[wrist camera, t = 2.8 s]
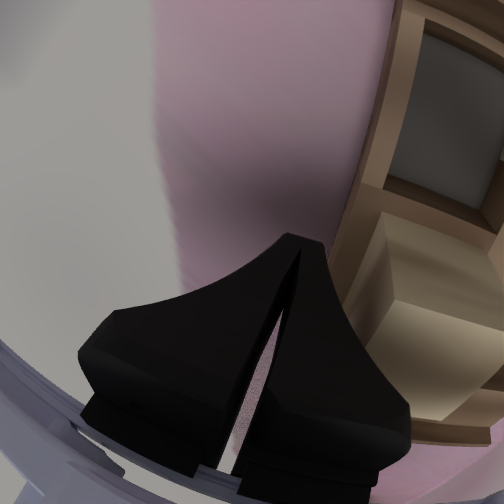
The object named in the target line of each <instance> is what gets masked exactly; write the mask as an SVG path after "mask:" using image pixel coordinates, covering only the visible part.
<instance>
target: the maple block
mask: <svg viewBox="0 0 504 504" xmlns="http://www.w3.org/2000/svg"><path fill="white" fill-rule="evenodd" d="M342 307H343V309H344V312H345V314H346V316H347V318H348V320H349V322H350V324H351V326H352V328H353V330H354V331H355V333H356V335H357V337H358V338H359V340H360V341H361V343H362V345H363V346H364V348H365V349H366V351H367V352H368V354H369V355H370V357H371V358H372V360H373V361H374V363H375V364H376V365H377V367H378V368H379V369H380V370H381V372H382V373H383V374H384V376H385V377H386V378H387V380H388V381H389V382H390V383H391V384H392V385H393V386H394V388H395V389H396V390H397V391H398V392H399V393H400V394H401V395H402V397H403V398H404V399H405V400H406V401H407V402H408V403H409V405H410V413H411V417H416V418H423V419H430V420H438V421H442V420H443V419H444V418H446V417H447V416H448V415H449V414H451V413H452V412H453V411H454V410H455V409H457V408H458V407H459V406H460V405H461V404H463V403H464V402H465V401H466V400H467V399H468V398H469V397H471V396H472V395H473V394H474V393H475V392H476V391H477V390H478V389H479V388H480V387H481V386H483V385H484V384H485V383H486V382H487V381H488V380H489V379H490V378H491V377H492V376H493V375H494V374H495V373H496V372H497V371H498V370H499V369H500V368H501V367H502V366H503V364H504V286H503V284H502V282H501V280H500V278H499V276H498V274H497V272H496V270H495V268H494V267H493V265H492V263H491V261H490V259H489V258H488V256H487V254H486V252H485V251H484V250H483V249H480V248H478V247H476V246H473V245H471V244H468V243H466V242H463V241H461V240H458V239H456V238H453V237H451V236H448V235H446V234H443V233H441V232H438V231H435V230H433V229H430V228H427V227H425V226H422V225H419V224H416V223H414V222H411V221H408V220H405V219H402V218H400V217H397V216H394V215H391V214H388V213H385V212H381V215H380V218H379V220H378V223H377V226H376V228H375V231H374V233H373V236H372V238H371V241H370V243H369V246H368V248H367V251H366V253H365V255H364V258H363V260H362V262H361V265H360V267H359V269H358V272H357V274H356V276H355V279H354V281H353V283H352V285H351V287H350V290H349V292H348V294H347V296H346V298H345V301H344V303H343V305H342Z"/></svg>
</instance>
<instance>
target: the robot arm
mask: <svg viewBox="0 0 504 504" xmlns="http://www.w3.org/2000/svg"><path fill="white" fill-rule="evenodd" d="M282 310H283V313H282V318H281V322H280V327H279V331H278V336H277V340H276V345H275V349H274V354H273V358H272V362H271V366H270V369H269V372H268V375H267V378H266V381H265V384H264V387H263V390H262V392H261V395H260V398H259V401H258V404H257V406H256V409H255V412H254V415H253V417H252V420H251V423H250V425H249V428H248V431H247V433H246V436H245V438H244V441H243V444H242V446H241V449H240V451H239V454H238V456H237V459H236V461H235V464H234V467H233V469H232V471H231V474H230V475H229V474H226V473H224V472H221V471H218V470H216V469H217V467H218V464H219V462H220V460H221V457H222V455H223V452H224V450H225V447H226V444H227V442H228V439H229V437H230V434H231V432H232V429H233V427H234V424H235V422H236V419H237V416H238V414H239V411H240V409H241V406H242V403H243V401H244V398H245V395H246V393H247V390H248V387H249V385H250V382H251V380H252V377H253V374H254V371H255V369H256V366H257V364H258V362H259V359H260V357H261V355H262V353H263V351H264V349H265V346H266V344H267V342H268V340H269V338H270V336H271V334H272V332H273V330H274V327H275V325H276V323H277V321H278V319H279V317H280V314H281V312H282ZM78 361H79V364H80V366H81V369H82V371H83V372H84V375H85V376H86V378H87V380H88V382H89V383H90V385H91V387H92V389H93V390H94V392H95V393H94V394H93V396H92V397H91V399H90V400H89V402H88V403H87V405H86V406H85V405H84V404H82V403H81V402H79V401H77V400H76V399H75V398H73V397H72V396H70V395H68V394H67V393H66V392H64V391H63V390H62V389H60V388H59V387H57V386H56V385H55V384H53V383H52V382H51V381H49V380H48V379H47V378H45V377H44V376H43V375H42V374H40V373H39V372H38V371H36V370H35V369H34V368H33V367H31V366H30V365H29V364H28V363H26V362H25V361H24V360H23V359H22V358H21V357H20V356H18V355H17V354H16V353H15V352H14V351H13V350H12V349H10V348H9V347H8V346H7V345H6V344H5V343H4V342H3V341H2V340H1V339H0V451H1V453H2V454H3V455H4V457H5V458H6V459H7V460H8V461H9V462H10V463H11V465H12V466H13V467H14V468H15V469H16V470H17V471H18V472H19V473H20V474H21V475H22V476H23V477H24V478H25V479H26V480H27V483H26V484H25V486H24V487H23V489H22V491H21V493H20V494H19V496H18V498H17V499H16V501H15V502H14V504H176V503H174V502H171V501H169V500H167V499H165V498H162V497H160V496H158V495H156V494H153V493H151V492H149V491H147V490H145V489H143V488H141V487H139V486H137V485H135V484H133V483H131V482H129V481H127V480H125V479H123V476H124V474H125V470H124V469H123V468H122V467H120V466H119V465H117V464H116V463H115V462H113V460H111V459H110V458H109V457H108V456H107V455H106V453H105V451H104V450H102V449H100V448H99V447H98V446H96V445H95V444H93V443H92V442H91V441H89V440H88V439H87V438H85V437H84V436H83V435H81V434H80V433H79V432H78V430H79V431H81V432H82V433H84V434H85V435H87V436H88V437H90V438H91V439H93V440H94V441H96V442H98V443H99V444H101V445H102V446H104V447H106V448H107V449H109V450H111V451H113V452H114V453H116V454H118V455H120V456H121V457H123V458H125V459H127V460H129V461H130V462H132V463H134V464H136V465H138V466H140V467H142V468H144V469H146V470H148V471H150V472H152V473H154V474H156V475H159V476H161V477H163V478H165V479H167V480H169V481H172V482H174V483H177V484H179V485H181V486H184V487H186V488H189V489H191V490H194V491H196V492H199V493H202V494H204V495H207V496H210V497H213V498H216V499H219V500H221V501H225V502H228V503H231V504H379V503H369V498H370V493H371V487H374V486H376V484H377V482H378V475H379V471H381V470H383V469H385V468H386V467H388V466H390V465H392V464H394V463H395V462H397V461H399V460H400V459H401V458H402V457H404V456H405V455H406V454H407V453H408V452H409V450H410V448H411V436H412V422H411V413H410V405H409V403H408V402H407V401H406V400H405V399H404V398H403V397H402V395H401V394H400V393H399V392H398V391H397V390H396V389H395V388H394V386H393V385H392V384H391V383H390V382H389V381H388V380H387V378H386V377H385V376H384V374H383V373H382V372H381V370H380V369H379V368H378V367H377V365H376V364H375V363H374V361H373V360H372V358H371V357H370V355H369V354H368V352H367V351H366V349H365V348H364V346H363V345H362V343H361V341H360V340H359V338H358V337H357V335H356V333H355V331H354V330H353V328H352V326H351V324H350V322H349V320H348V318H347V316H346V314H345V312H344V309H343V307H342V305H341V302H340V300H339V297H338V295H337V292H336V290H335V287H334V284H333V281H332V278H331V275H330V271H329V268H328V264H327V260H326V255H325V249H324V245H323V244H322V243H321V242H317V241H314V240H311V239H307V238H304V237H301V236H297V235H294V234H290V233H285V234H283V235H282V236H281V237H280V238H279V239H278V240H277V241H276V242H275V243H274V244H273V245H272V246H270V247H269V248H268V249H267V250H265V251H264V252H263V253H262V254H260V255H259V256H258V257H256V258H255V259H253V260H252V261H251V262H249V263H247V264H246V265H244V266H243V267H241V268H240V269H238V270H237V271H235V272H233V273H231V274H230V275H228V276H226V277H224V278H222V279H220V280H218V281H216V282H214V283H212V284H210V285H207V286H205V287H203V288H200V289H198V290H195V291H193V292H190V293H187V294H184V295H181V296H178V297H175V298H171V299H168V300H164V301H160V302H157V303H152V304H148V305H142V306H137V307H132V308H126V309H120V310H114V311H113V312H112V313H111V314H110V315H109V316H108V317H107V318H106V319H105V320H104V321H103V322H102V323H101V324H100V325H99V326H98V328H97V329H96V330H95V331H94V332H93V333H92V335H91V336H90V337H89V338H88V340H87V341H86V342H85V343H84V344H83V346H82V347H81V348H80V349H79V351H78ZM77 429H78V430H77ZM438 504H504V490H501V491H498V492H496V493H494V494H492V495H489V496H487V497H486V498H484V499H478V500H471V501H463V502H452V503H438Z"/></svg>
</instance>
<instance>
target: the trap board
mask: <svg viewBox="0 0 504 504" xmlns="http://www.w3.org/2000/svg"><path fill="white" fill-rule="evenodd" d="M381 212H385V213H388V214H391V215H394V216H397V217H400V218H402V219H405V220H408V221H411V222H414V223H416V224H419V225H422V226H425V227H427V228H430V229H433V230H435V231H438V232H441V233H443V234H446V235H448V236H451V237H453V238H456V239H458V240H461V241H463V242H466V243H468V244H471V245H473V246H476V247H478V248H480V249H483V250H484V251H485V252H486V254H487V256H488V258H489V259H490V261H491V263H492V265H493V267H494V268H495V270H496V272H497V274H498V276H499V278H500V280H501V282H502V284H503V286H504V0H395V4H394V10H393V16H392V22H391V28H390V34H389V39H388V44H387V49H386V54H385V59H384V64H383V69H382V73H381V78H380V82H379V87H378V91H377V95H376V99H375V103H374V108H373V112H372V116H371V119H370V123H369V127H368V131H367V135H366V139H365V142H364V146H363V149H362V153H361V157H360V160H359V164H358V167H357V170H356V174H355V177H354V181H353V184H352V187H351V190H350V194H349V197H348V200H347V203H346V206H345V210H344V213H343V216H342V219H341V222H340V225H339V228H338V231H337V234H336V237H335V240H334V243H333V246H332V248H331V251H330V254H329V257H328V260H327V264H328V268H329V271H330V275H331V278H332V281H333V284H334V287H335V290H336V292H337V295H338V297H339V300H340V302H341V305H343V303H344V301H345V298H346V296H347V294H348V292H349V290H350V287H351V285H352V283H353V281H354V279H355V276H356V274H357V272H358V269H359V267H360V265H361V262H362V260H363V258H364V255H365V253H366V251H367V248H368V246H369V243H370V241H371V238H372V236H373V233H374V231H375V228H376V226H377V223H378V220H379V218H380V215H381ZM503 417H504V364H503V366H502V367H501V368H500V369H499V370H498V371H497V372H496V373H495V374H494V375H493V376H492V377H491V378H490V379H489V380H488V381H487V382H486V383H485V384H484V385H483V386H481V387H480V388H479V389H478V390H477V391H476V392H475V393H474V394H473V395H472V396H471V397H469V398H468V399H467V400H466V401H465V402H464V403H463V404H461V405H460V406H459V407H458V408H457V409H455V410H454V411H453V412H452V413H451V414H449V415H448V416H447V417H446V418H444V419H443V420H442V421H438V420H430V419H423V418H416V417H411V422H412V436H411V443H416V444H427V445H441V446H462V447H487V446H489V445H490V444H491V436H490V427H491V426H492V425H494V424H495V423H496V422H497V421H499V420H500V419H501V418H503Z"/></svg>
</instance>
